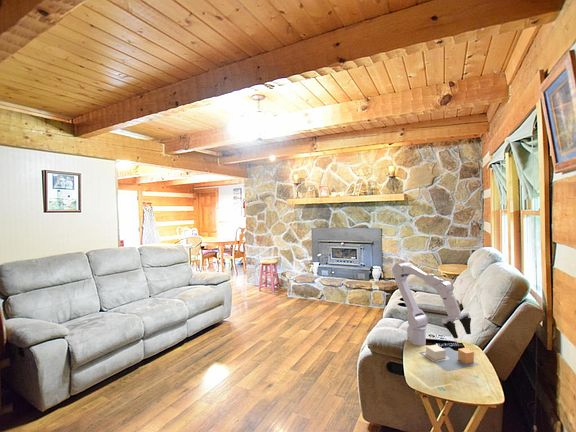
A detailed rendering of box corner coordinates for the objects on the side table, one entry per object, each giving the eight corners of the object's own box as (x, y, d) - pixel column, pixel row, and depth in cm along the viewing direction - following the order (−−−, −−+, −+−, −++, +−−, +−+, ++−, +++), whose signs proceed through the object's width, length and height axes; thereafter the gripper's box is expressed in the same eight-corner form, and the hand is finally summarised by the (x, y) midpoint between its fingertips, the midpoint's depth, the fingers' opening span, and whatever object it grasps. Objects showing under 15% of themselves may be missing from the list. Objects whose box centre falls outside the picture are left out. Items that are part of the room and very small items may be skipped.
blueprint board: (419, 353, 152) (419, 352, 152) (449, 348, 157) (448, 347, 157) (446, 372, 135) (446, 371, 135) (479, 365, 139) (479, 364, 139)
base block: (426, 354, 150) (426, 346, 150) (436, 352, 152) (436, 344, 151) (435, 360, 144) (435, 351, 144) (445, 358, 146) (445, 350, 146)
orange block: (458, 359, 144) (458, 349, 144) (465, 357, 146) (465, 347, 145) (465, 364, 140) (465, 353, 140) (473, 362, 141) (473, 351, 141)
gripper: (444, 309, 140) (456, 340, 136) (469, 302, 144) (481, 332, 140) (435, 310, 147) (445, 339, 143) (458, 303, 151) (469, 332, 146)
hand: (462, 336), depth 142 cm, fingers open, 7 cm apart
